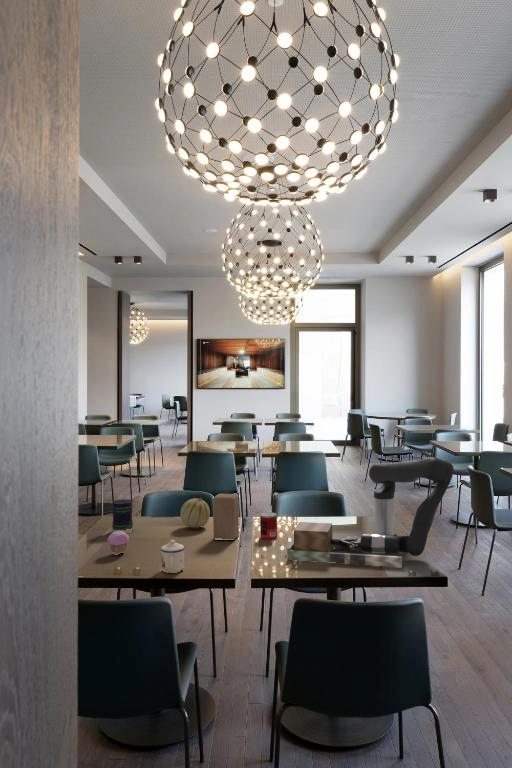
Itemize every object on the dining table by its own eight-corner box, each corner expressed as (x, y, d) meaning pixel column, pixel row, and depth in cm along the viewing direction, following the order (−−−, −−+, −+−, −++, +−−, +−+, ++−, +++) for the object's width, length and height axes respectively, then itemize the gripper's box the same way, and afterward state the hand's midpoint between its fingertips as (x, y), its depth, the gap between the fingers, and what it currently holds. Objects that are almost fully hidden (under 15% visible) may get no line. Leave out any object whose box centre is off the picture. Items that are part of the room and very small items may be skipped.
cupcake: (122, 550, 262) (121, 527, 262) (133, 554, 256) (132, 530, 256) (104, 554, 256) (103, 531, 256) (115, 558, 250) (114, 534, 250)
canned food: (279, 536, 281) (278, 512, 281) (274, 540, 273) (273, 516, 273) (263, 535, 283) (263, 511, 283) (258, 539, 276) (257, 515, 276)
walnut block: (332, 551, 255) (332, 523, 255) (328, 561, 242) (327, 531, 242) (300, 549, 259) (299, 522, 259) (294, 559, 245) (293, 530, 245)
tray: (403, 552, 251) (403, 540, 251) (402, 567, 231) (401, 554, 231) (297, 546, 263) (297, 535, 263) (287, 560, 243) (287, 548, 243)
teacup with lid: (162, 567, 238) (161, 537, 238) (185, 566, 239) (184, 537, 238) (159, 577, 226) (158, 546, 226) (183, 576, 227) (183, 545, 226)
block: (234, 541, 273) (233, 497, 272) (213, 541, 275) (212, 497, 274) (239, 536, 282) (238, 493, 282) (218, 535, 284) (217, 493, 284)
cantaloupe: (180, 525, 306) (180, 495, 305) (209, 523, 307) (209, 494, 307) (180, 532, 291) (179, 501, 291) (210, 531, 293) (210, 500, 292)
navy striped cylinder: (110, 530, 296) (110, 500, 296) (130, 528, 301) (129, 498, 300) (114, 535, 287) (114, 504, 287) (135, 533, 292) (134, 502, 291)
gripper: (374, 530, 251) (333, 528, 255) (372, 538, 238) (328, 536, 242) (374, 548, 251) (333, 545, 255) (372, 557, 238) (328, 554, 243)
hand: (331, 541), depth 249 cm, fingers closed
